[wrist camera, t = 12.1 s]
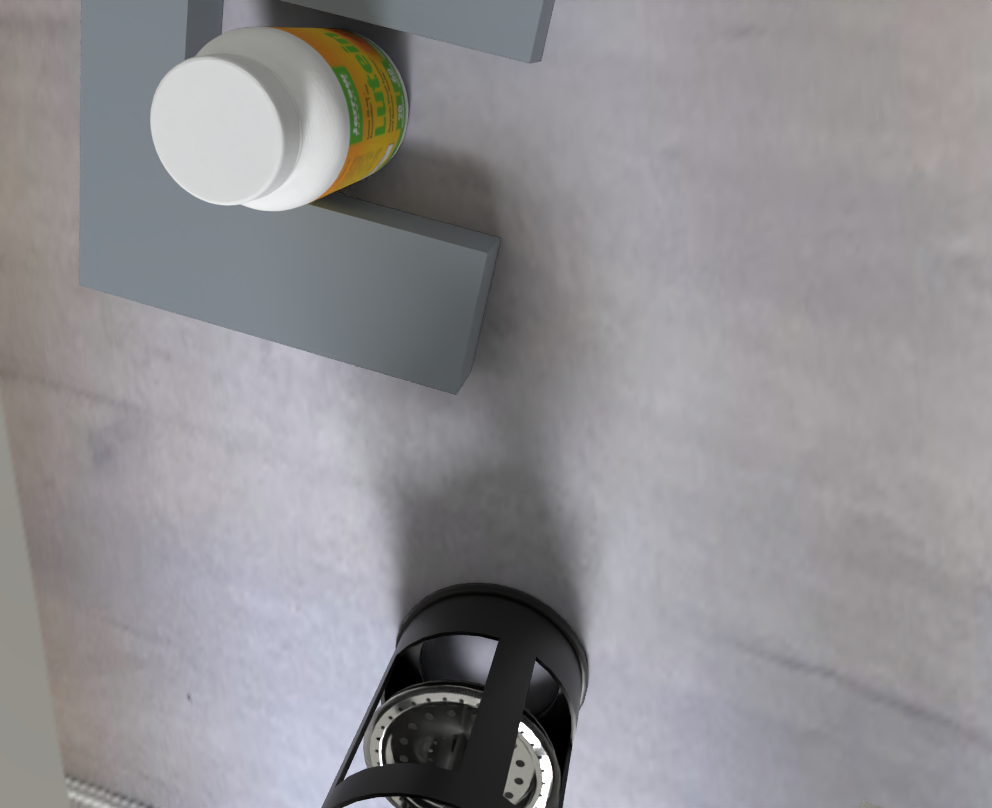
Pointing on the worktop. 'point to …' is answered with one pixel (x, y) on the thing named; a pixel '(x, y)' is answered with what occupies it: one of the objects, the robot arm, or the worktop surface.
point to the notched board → (280, 234)
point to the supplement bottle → (278, 116)
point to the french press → (471, 711)
